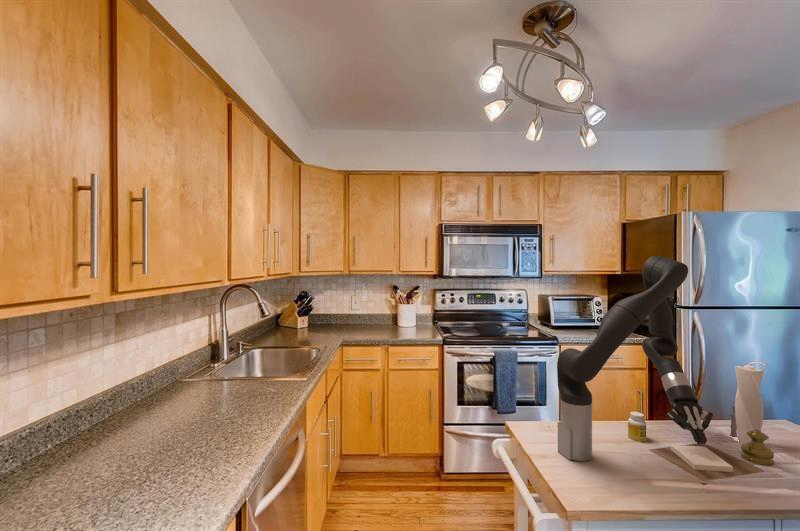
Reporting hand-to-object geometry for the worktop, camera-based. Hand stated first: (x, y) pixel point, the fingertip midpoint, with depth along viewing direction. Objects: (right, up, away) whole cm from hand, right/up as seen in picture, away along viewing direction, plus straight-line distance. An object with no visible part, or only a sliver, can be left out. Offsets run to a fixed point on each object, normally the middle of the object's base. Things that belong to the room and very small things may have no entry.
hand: (702, 443), depth 115 cm
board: (+2, -7, +1) cm, 7 cm away
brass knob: (+18, -7, +2) cm, 19 cm away
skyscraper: (+27, -7, +15) cm, 32 cm away
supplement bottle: (-10, -7, +16) cm, 20 cm away
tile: (+1, -5, +7) cm, 9 cm away
